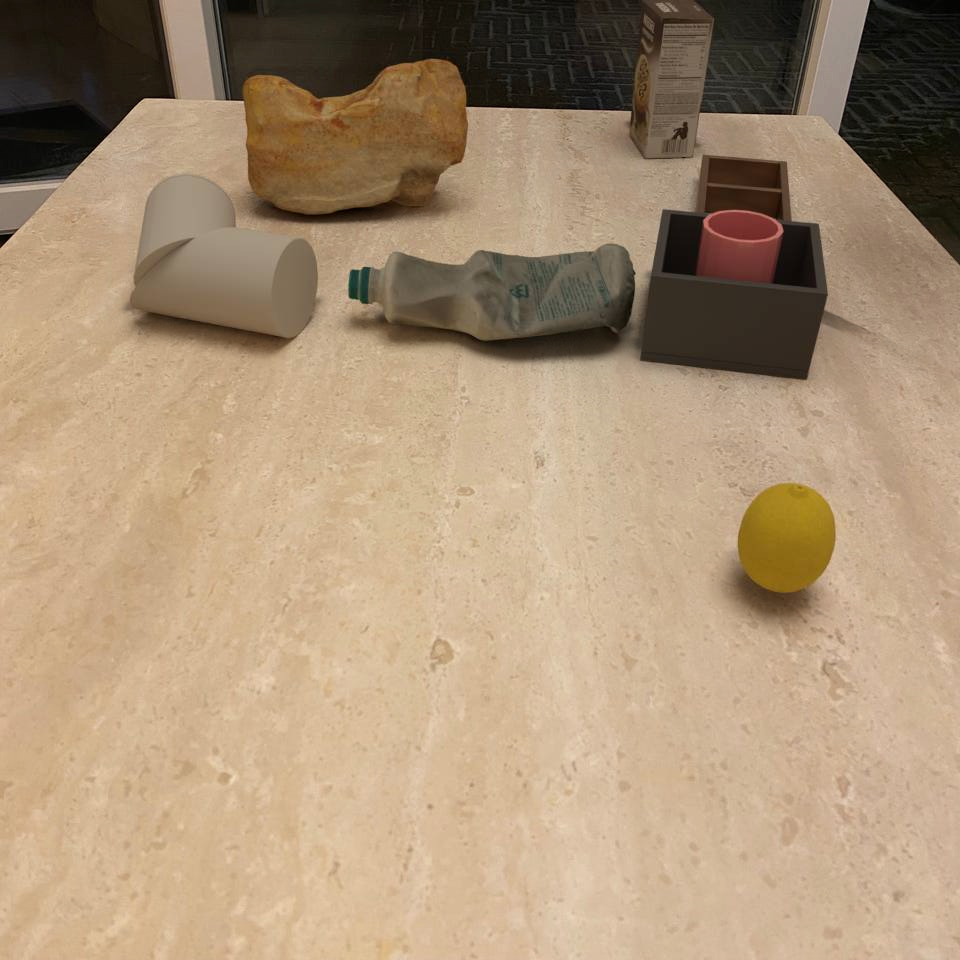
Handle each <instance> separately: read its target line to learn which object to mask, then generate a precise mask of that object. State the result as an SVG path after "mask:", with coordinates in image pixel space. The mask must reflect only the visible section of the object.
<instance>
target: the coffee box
mask: <svg viewBox="0 0 960 960" xmlns="http://www.w3.org/2000/svg"><path fill="white" fill-rule="evenodd" d="M639 19H640V20H639V29H638V37H637V39H638V40H637V50H636V59H635V71H634V72H635V73H634V80H633V91H632V99H631V100H632V101H631V112H630V121H629V122H630V123H629V130H628V131H629V132H628V134H629V136H630V135H631V136H630V138H631V139H632V138H633V139H632V140H633V142H634V144H635V145H636V146H637V148H638V150H639V151H640V153H641V154H642V155H643V157H644V159H675V158H676V159H678V158H682V157H686V158H693V157H694V154H695V146H696V141H697V140H696V139H697V134H698V126H699V121H700V114H701V107H702V101H703V94H704V89H705V81H706V76H707V70H708V69H707V68H708V61H709V55H710V49H711V41H712V35H713V28H714V23H715V17H713V15H711V14H710V13H709V12H708V11H706V10H705V9H704V8H703V7H702V6H701V5H699V4H698V3H697V2H696V1H695V0H641V9H640V18H639Z"/></svg>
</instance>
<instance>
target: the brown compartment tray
mask: <svg viewBox="0 0 960 960" xmlns="http://www.w3.org/2000/svg"><path fill="white" fill-rule="evenodd" d="M788 168H789V167H788V161H787V160H773V159H761V158H749V157H738V156H726V155H713V154H702V157H701V164H700V171H699V177H698V185H697V194H696V203H695V211H694V212H698V213H715V212H718V211H726V210H744V211H751V212H756V213H761V214H764V215H766V216H769V217H771V218H774V219H775V220H784V221H793V220H792V210H791V209H792V208H791V207H792V206H791V196H790V195H791V194H790V181H789V169H788Z"/></svg>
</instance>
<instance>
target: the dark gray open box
mask: <svg viewBox="0 0 960 960" xmlns="http://www.w3.org/2000/svg"><path fill="white" fill-rule="evenodd" d="M661 210H662V211H661V217H660V221H659V228H658V234H657V239H656V245H655V250H654V254H653V255H654V256H653V262H652V267H651V272H650V278H649V279H650V280H649V285H648V286H649V287H648V288H649V289H648V295H647V302H646V303H647V305H646V311H645V319H644V328H643V335H642V342H641V352H640V361H645V362H654V363H661V364H662V363H664V364H671V365H681V366H688V367H697V368H706V369H712V370H713V369H715V370H722V371H729V372H730V371H731V372H738V373H739V372H740V373H749V374H757V375H764V376H765V375H766V376H772V377H782V378H788V379H789V378H791V379H798V380H807V379H808V376H809V373H810V372H809V371H810V369H811V365H812V360H813V358H814V357H813V356H814V352H815V350H816V344H817V340H818V336H819V333H820V332H819V331H820V328H821V324H822V320H823V316H824V312H825V308H826V304H827V299H828V295H829V292H828V284H827V283H828V282H827V275H826V269H825V259H824V254H823V253H824V252H823V246H822V245H823V244H822V237H821V231H820V230H821V229H820V223H816V222H807V221H806V222H804V221H796V220H795V221H793V220H792V221H784V220H777V219H775V220H776V221H778V222H779V223H780V224H781V225H782V228H783V236H782V241H781V246H780V250H779V255H778V260H777V265H776V269H775V274H774V279H773V284H769V283H759V282H750V281H740V280H730V279H721V278H711V277H701V276H695V270H696V264H697V257H698V251H699V244H700V238H701V231H702V225H703V220H704V219H705V218H706V217H707V216H708V215H710V214H711V213H710V212H704V213H698V212H695V211H687V210H676V209H667V208H666V209H665V208H664V209H661Z"/></svg>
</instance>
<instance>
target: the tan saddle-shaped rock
mask: <svg viewBox="0 0 960 960" xmlns="http://www.w3.org/2000/svg"><path fill="white" fill-rule="evenodd" d="M466 91H467V90H466V87H465V84H464V81H463V79H462V76H461V74H460V72H459V68H458V66H456V65H455V64H453V63H452V62H451V61H448V60H444V59H439V58H427V59H424V60H418V61H415V62H403V63H399V64H395V65H390V66H386V68H384V69H382V70H381V71H380V72H379V73H378V74H377V76H376V77H375V78H374V80H373V81H372V83H371V84H369V85H368V86H366V87H365V88H363V89H360V90H357V91H355V92H353V93H351V94H347V95H342V96H331V97H330V96H329V97H322V98H318V97H316V96H314V95H313V94H312V93H311V92H310V91H308V90H306V89H303V88H302V87H299V86H297V85H296V84H294V83H292V82H291V81H290V80H288V79H287V78H285V77H282V76H279V75H270V74H265V75H264V74H257V75H253V76H250V77H249V78H248V79H246V80H245V82H244V83H243V85H242V98H243V99H242V100H243V105H244V112H245V125H246V132H247V135H246V140H245V148H246V153H247V179H248V180H247V181H248V184H249V186H250V188H251V190H252V192H253V193H254V194H255V195H256V196H258V197H259V198H261V199H264V200H265V201H267V202H270V203H272V204H273V205H274V206H275V207H276V208H277V209H281V210H283V211H288V212H293V213H299V214H304V215H324V214H332V213H335V212H337V211H343V210H348V209H353V208H367V207H369V208H370V207H374V206H378V205H380V204H384V203H387V202H389V201H392V202H395V203H396V204H399V205H402V206H405V205H406V207H412V206H420V207H423V206H425V205H427V204H428V203H429V202H430V201H432V199H433V196H434V193H435V191H436V187H437V185H438V183H439V181H440V177H441V175H442V174H444V173H445V171H447V170H448V169H449V168H452V167H453V166H455V165H459V164H462V162H463V159H464V157H465V153H466V148H467V139H468V131H469V120H468V115H467V92H466Z"/></svg>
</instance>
